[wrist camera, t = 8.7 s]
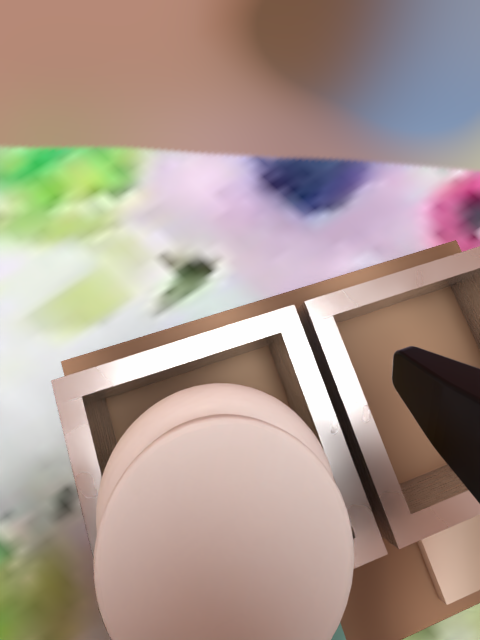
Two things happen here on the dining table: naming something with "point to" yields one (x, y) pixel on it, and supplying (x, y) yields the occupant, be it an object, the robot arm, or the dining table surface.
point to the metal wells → (298, 403)
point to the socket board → (391, 421)
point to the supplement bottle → (221, 524)
